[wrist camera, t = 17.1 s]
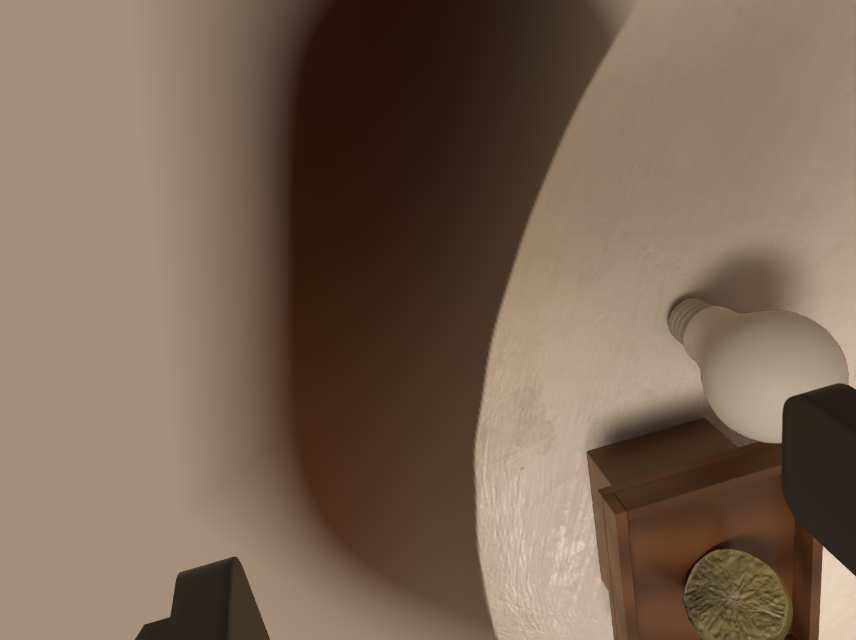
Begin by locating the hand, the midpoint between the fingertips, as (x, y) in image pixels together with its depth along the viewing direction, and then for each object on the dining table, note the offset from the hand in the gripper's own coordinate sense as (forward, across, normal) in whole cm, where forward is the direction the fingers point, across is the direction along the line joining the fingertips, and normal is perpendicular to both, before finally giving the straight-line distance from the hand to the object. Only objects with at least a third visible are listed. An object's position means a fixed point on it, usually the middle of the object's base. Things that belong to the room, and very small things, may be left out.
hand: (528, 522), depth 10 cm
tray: (+26, -14, +24) cm, 38 cm away
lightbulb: (+26, -17, +12) cm, 33 cm away
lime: (+20, -14, +24) cm, 34 cm away
